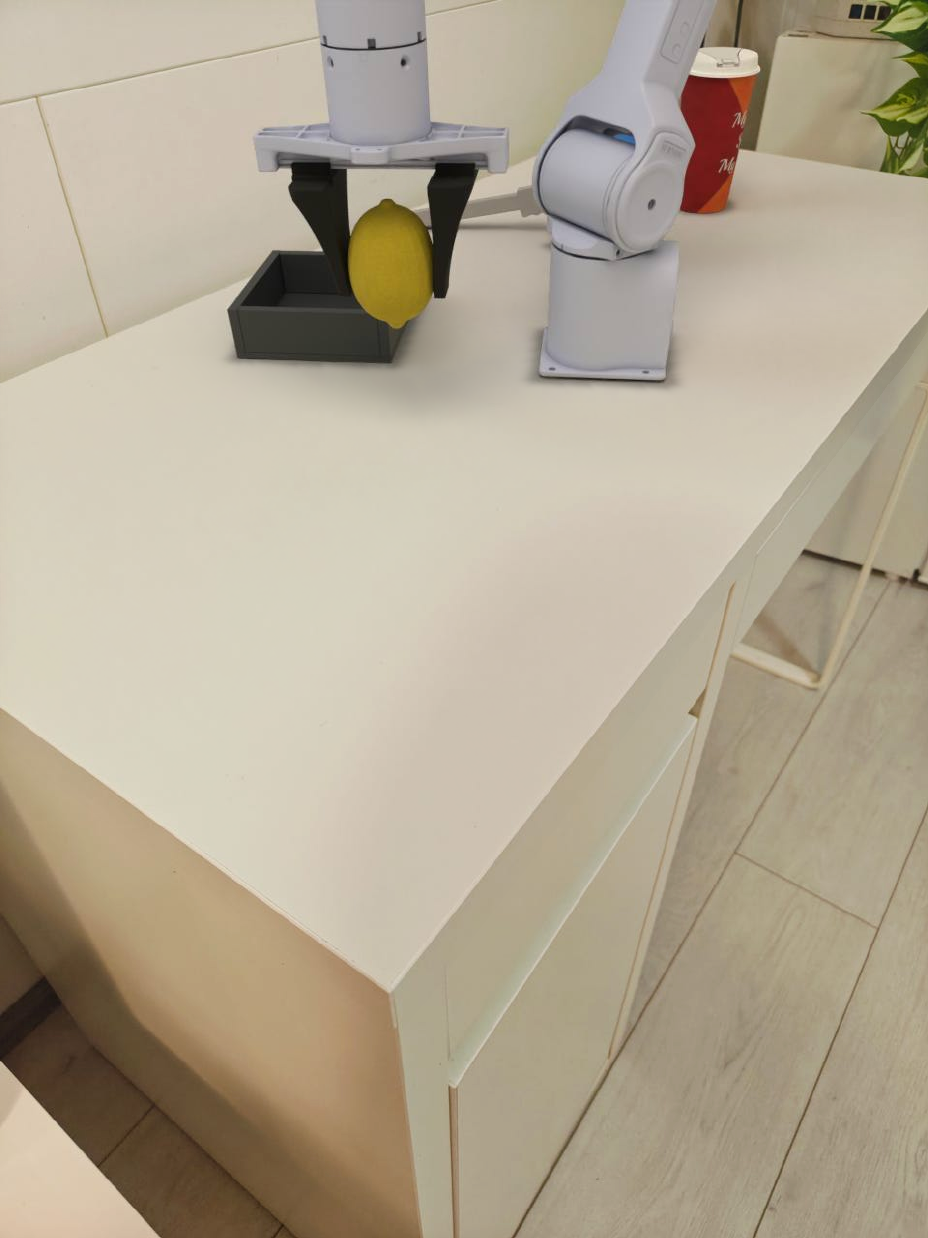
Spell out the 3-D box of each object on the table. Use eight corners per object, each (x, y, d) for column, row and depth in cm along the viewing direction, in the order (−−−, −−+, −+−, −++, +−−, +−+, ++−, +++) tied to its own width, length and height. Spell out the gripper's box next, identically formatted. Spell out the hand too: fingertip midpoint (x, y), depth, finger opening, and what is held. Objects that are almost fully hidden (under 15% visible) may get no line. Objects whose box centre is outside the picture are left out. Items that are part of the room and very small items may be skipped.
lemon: (429, 349, 55) (421, 216, 50) (344, 343, 56) (328, 212, 51) (447, 312, 59) (441, 185, 54) (368, 308, 60) (355, 182, 55)
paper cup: (743, 215, 92) (771, 60, 82) (669, 217, 92) (689, 62, 83) (727, 192, 98) (752, 44, 88) (658, 193, 98) (675, 45, 88)
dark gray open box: (416, 298, 78) (414, 252, 76) (391, 363, 69) (386, 313, 66) (280, 294, 80) (272, 249, 77) (237, 357, 70) (226, 309, 68)
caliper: (588, 231, 90) (593, 164, 86) (587, 235, 89) (592, 167, 85) (393, 225, 92) (389, 160, 88) (391, 228, 92) (386, 163, 87)
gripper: (219, 56, 45) (266, 314, 54) (502, 54, 43) (501, 320, 52) (258, 30, 50) (295, 270, 59) (512, 27, 48) (510, 274, 58)
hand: (393, 291), depth 56 cm, fingers closed on lemon, 5 cm apart
